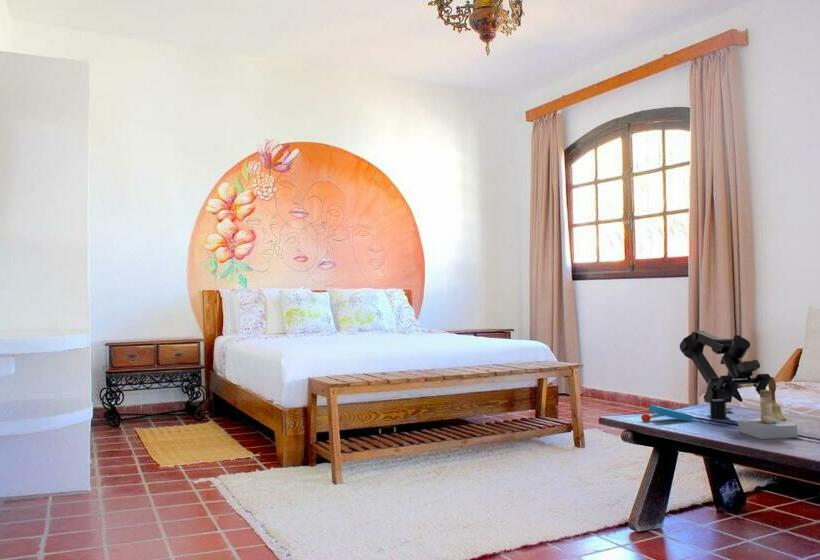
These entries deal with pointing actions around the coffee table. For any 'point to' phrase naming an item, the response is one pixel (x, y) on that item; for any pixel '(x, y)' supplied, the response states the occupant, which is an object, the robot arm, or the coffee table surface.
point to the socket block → (767, 429)
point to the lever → (665, 414)
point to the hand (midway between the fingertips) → (753, 400)
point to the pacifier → (728, 408)
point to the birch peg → (766, 406)
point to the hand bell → (775, 407)
